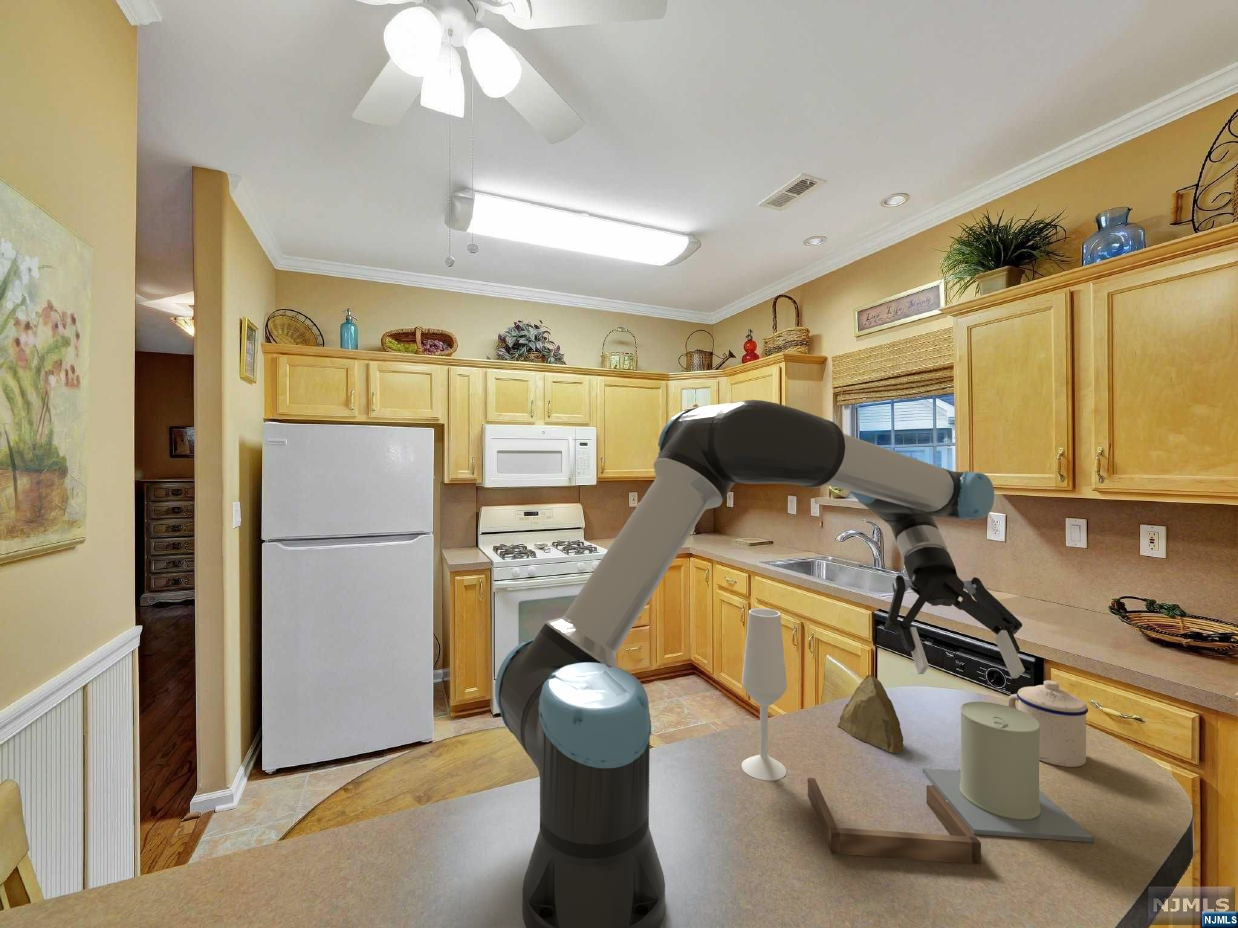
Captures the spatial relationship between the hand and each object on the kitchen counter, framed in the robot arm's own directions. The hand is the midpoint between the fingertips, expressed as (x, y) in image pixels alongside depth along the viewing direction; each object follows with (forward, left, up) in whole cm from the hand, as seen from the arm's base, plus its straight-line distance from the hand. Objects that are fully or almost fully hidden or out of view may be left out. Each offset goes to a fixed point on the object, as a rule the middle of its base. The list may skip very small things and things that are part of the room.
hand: (970, 672), depth 83 cm
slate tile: (-1, -7, -15) cm, 17 cm away
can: (-1, -7, -15) cm, 17 cm away
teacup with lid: (+17, +7, -15) cm, 24 cm away
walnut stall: (-19, -12, -15) cm, 27 cm away
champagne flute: (-31, +2, -15) cm, 35 cm away
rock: (-10, +11, -16) cm, 21 cm away
